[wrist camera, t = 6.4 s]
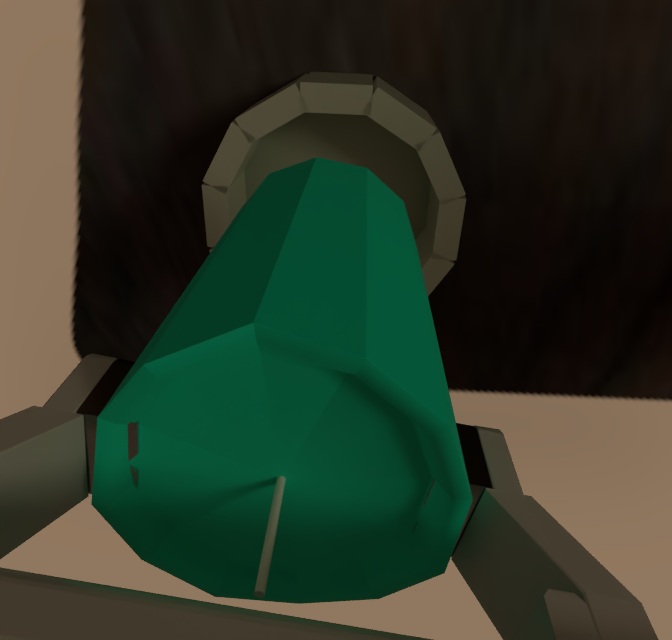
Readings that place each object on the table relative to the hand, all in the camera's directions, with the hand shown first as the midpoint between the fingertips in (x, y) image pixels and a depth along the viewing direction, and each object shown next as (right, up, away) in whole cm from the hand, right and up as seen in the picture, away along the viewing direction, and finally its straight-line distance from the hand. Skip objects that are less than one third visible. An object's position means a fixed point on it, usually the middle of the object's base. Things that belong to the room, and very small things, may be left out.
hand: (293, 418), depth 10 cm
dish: (+1, +9, +19) cm, 21 cm away
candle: (0, +4, +7) cm, 9 cm away
